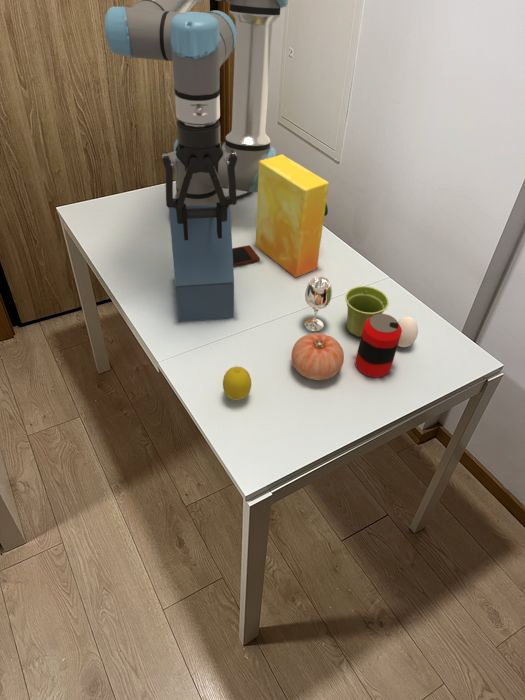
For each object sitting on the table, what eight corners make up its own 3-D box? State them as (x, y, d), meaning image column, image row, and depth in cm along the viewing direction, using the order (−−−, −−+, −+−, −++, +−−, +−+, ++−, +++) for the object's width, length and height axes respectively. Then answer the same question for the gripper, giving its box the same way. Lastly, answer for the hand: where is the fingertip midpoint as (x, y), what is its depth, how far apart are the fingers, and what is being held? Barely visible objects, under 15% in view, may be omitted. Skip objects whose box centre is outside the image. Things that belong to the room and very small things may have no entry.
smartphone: (196, 255, 138) (249, 244, 143) (196, 258, 139) (249, 247, 144) (205, 270, 134) (260, 258, 138) (205, 273, 134) (260, 261, 139)
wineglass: (322, 336, 120) (329, 293, 111) (298, 329, 121) (303, 287, 112) (329, 320, 124) (336, 278, 115) (305, 314, 125) (311, 272, 116)
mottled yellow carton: (331, 262, 140) (345, 176, 124) (295, 278, 135) (305, 190, 118) (290, 232, 150) (298, 149, 134) (254, 246, 145) (258, 160, 128)
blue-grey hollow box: (175, 280, 132) (172, 247, 125) (225, 277, 134) (225, 244, 127) (178, 322, 121) (175, 287, 114) (233, 317, 123) (234, 283, 116)
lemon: (228, 384, 108) (228, 356, 102) (254, 390, 107) (255, 362, 101) (218, 403, 104) (218, 375, 98) (245, 410, 103) (246, 383, 97)
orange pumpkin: (328, 396, 107) (334, 368, 101) (280, 376, 110) (283, 348, 105) (348, 363, 114) (355, 335, 108) (303, 345, 117) (306, 317, 112)
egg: (388, 350, 117) (396, 324, 112) (389, 334, 121) (397, 308, 116) (413, 355, 116) (421, 328, 111) (413, 339, 120) (422, 313, 115)
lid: (168, 206, 110) (168, 206, 103) (229, 203, 112) (233, 203, 105) (175, 285, 114) (175, 290, 107) (233, 281, 116) (237, 286, 109)
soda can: (388, 381, 110) (401, 339, 102) (352, 373, 112) (362, 331, 103) (392, 357, 116) (404, 315, 107) (357, 349, 117) (367, 307, 109)
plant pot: (386, 341, 119) (394, 311, 113) (346, 344, 118) (352, 314, 112) (373, 314, 126) (380, 284, 120) (335, 317, 124) (340, 287, 118)
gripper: (142, 129, 88) (155, 248, 104) (256, 126, 91) (251, 243, 107) (141, 112, 93) (154, 228, 109) (249, 110, 96) (246, 223, 112)
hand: (202, 235), depth 108 cm, fingers closed on lid, 6 cm apart
